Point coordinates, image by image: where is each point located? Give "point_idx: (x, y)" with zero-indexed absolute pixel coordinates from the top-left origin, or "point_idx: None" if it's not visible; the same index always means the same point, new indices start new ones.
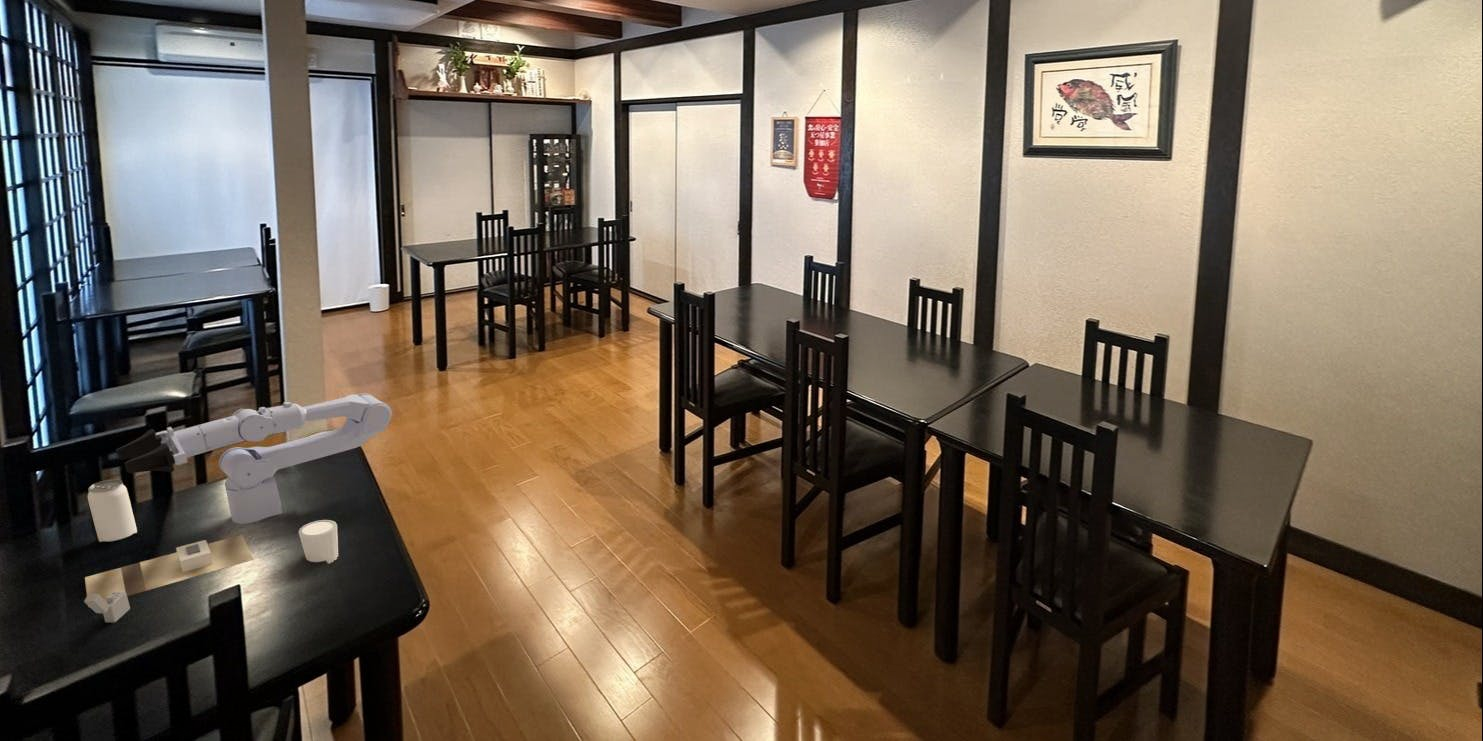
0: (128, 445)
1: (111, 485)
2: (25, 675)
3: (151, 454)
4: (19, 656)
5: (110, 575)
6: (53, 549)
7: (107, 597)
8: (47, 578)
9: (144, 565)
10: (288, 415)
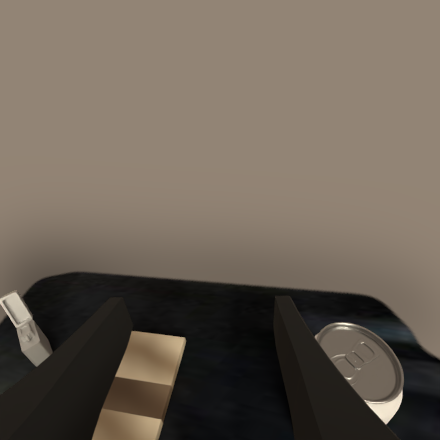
0: (287, 333)
1: (363, 373)
2: (57, 276)
3: (8, 389)
4: (92, 276)
5: (158, 366)
6: (324, 326)
7: (25, 323)
8: (234, 310)
9: (140, 423)
10: None
